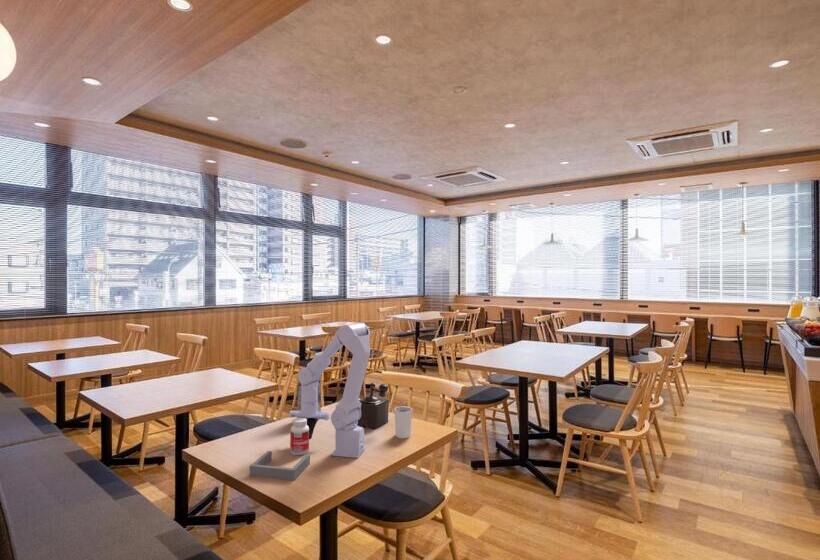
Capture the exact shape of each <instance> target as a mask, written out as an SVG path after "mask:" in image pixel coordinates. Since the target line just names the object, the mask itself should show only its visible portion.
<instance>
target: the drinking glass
mask: <svg viewBox="0 0 820 560" xmlns="http://www.w3.org/2000/svg"><path fill="white" fill-rule="evenodd" d="M412 418H413V408H412V407H409V406H406V405H405V406H396V407H395V408H394V427H395V428H394V430H395V431H394V433H395V434H394V435H395V437H396V438H399V439H407V438H408V439H409V438H410V437H412V420H413V419H412Z"/></svg>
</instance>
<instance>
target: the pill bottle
mask: <svg viewBox="0 0 820 560" xmlns="http://www.w3.org/2000/svg"><path fill="white" fill-rule="evenodd" d="M306 424H307V419H306V418H298V417H295V418H293V419H292V426H291V428H290V429H289V430H290V433H289V434H290V435H289V439H290V440H289V441H290V442H289V449H290V450H289V452H290V454H291V455H293V456H303V455H306V454H308V452H309V450H310V449H309V448H310V439H309V427H308V425H306Z"/></svg>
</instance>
